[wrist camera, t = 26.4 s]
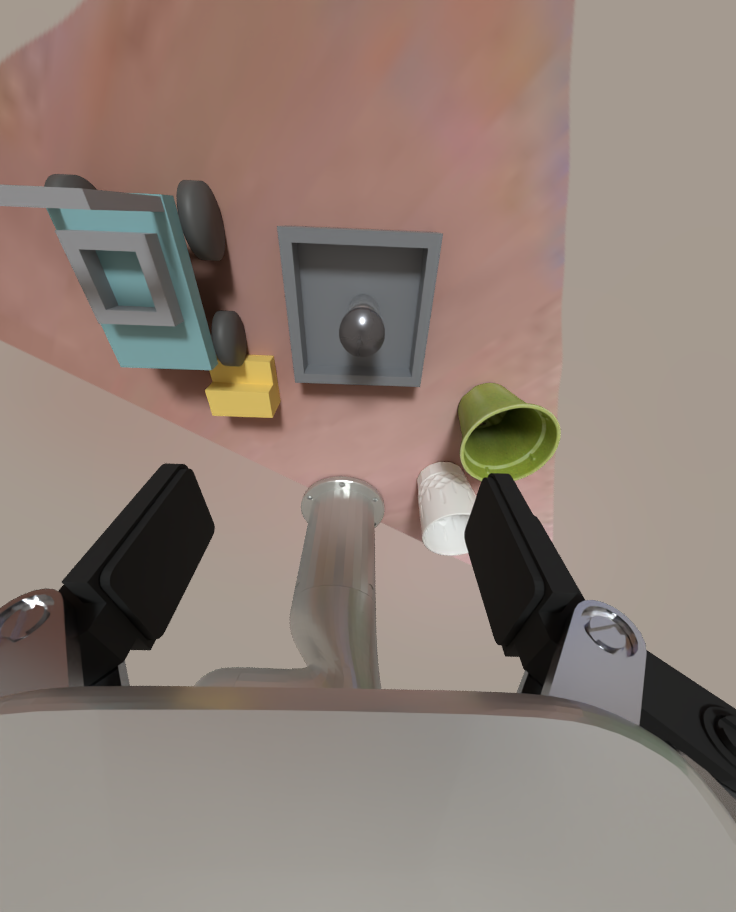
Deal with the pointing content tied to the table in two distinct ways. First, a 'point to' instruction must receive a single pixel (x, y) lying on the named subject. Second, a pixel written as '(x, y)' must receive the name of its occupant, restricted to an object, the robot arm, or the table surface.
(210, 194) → the trolley
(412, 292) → the tray
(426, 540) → the white cup
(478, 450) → the plant pot
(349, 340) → the pin
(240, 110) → the table surface
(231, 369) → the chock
